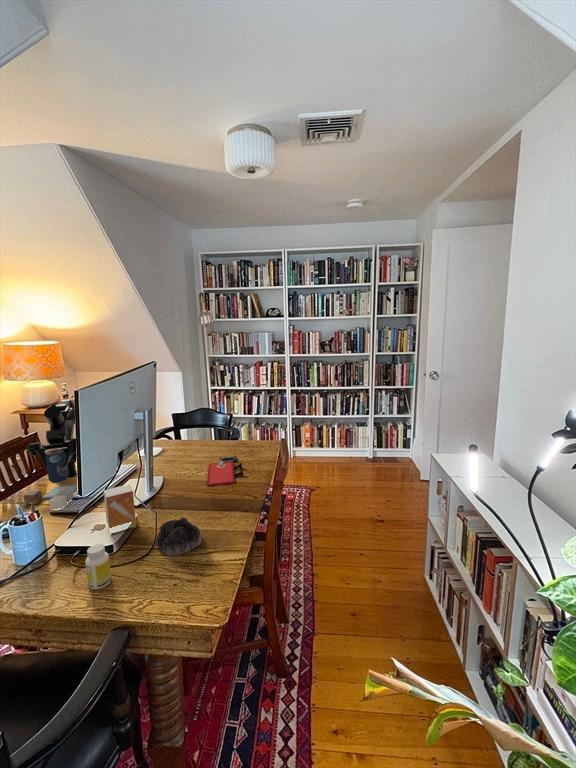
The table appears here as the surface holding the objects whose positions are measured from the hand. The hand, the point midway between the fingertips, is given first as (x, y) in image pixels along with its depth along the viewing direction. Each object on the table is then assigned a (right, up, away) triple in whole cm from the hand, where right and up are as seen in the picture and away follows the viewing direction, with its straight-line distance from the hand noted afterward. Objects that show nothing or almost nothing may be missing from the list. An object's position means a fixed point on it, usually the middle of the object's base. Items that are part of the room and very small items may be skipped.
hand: (56, 465), depth 145 cm
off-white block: (+6, -14, -8) cm, 17 cm away
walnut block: (-7, -13, -3) cm, 15 cm away
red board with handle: (+63, -8, +22) cm, 67 cm away
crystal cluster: (+58, -17, -33) cm, 69 cm away
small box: (+36, -15, -23) cm, 45 cm away
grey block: (+6, -13, -3) cm, 15 cm away
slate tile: (0, -12, +3) cm, 12 cm away
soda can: (0, -6, +2) cm, 7 cm away
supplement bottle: (+42, -20, -49) cm, 68 cm away
